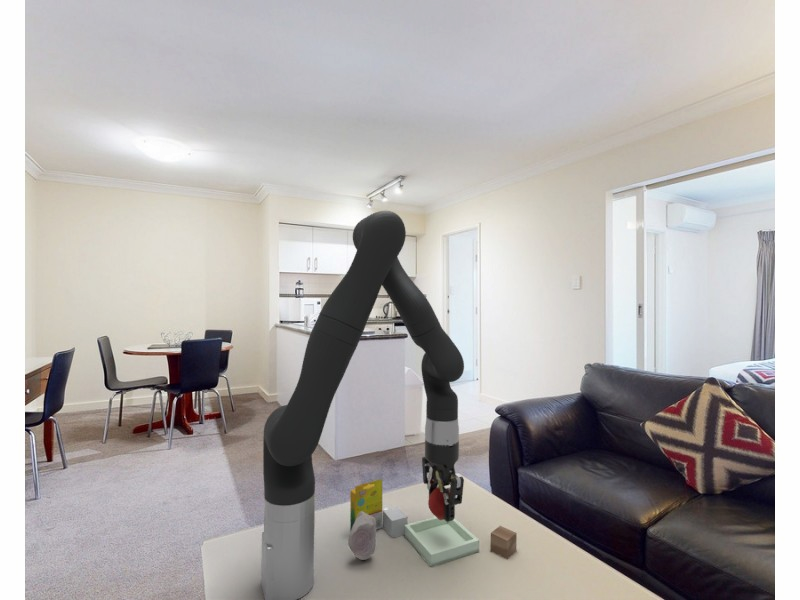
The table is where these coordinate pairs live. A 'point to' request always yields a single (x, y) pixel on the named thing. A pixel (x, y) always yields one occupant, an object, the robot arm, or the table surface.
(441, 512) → the onion
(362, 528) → the fossil
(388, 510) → the grey block
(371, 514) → the crayon box
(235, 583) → the table surface
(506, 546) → the walnut block
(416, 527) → the dish
